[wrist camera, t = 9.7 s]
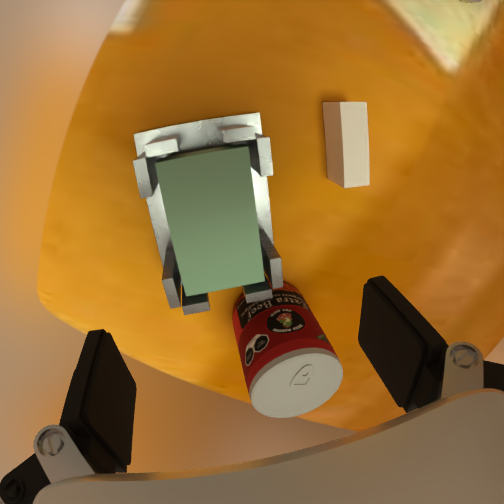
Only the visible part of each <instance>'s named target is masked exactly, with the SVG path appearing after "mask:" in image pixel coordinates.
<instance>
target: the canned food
mask: <svg viewBox="0 0 504 504" xmlns="http://www.w3.org/2000/svg"><path fill="white" fill-rule="evenodd" d="M268 282H269V281H268ZM269 285H270V287H271V289H272V298H270V299H265V300H261V301H256V302H251V303H247V302H246V299H245V296H244V294H243V295H242V296H241V297H240V298H239V300H238V302H237V304H236V306H235V309H234V313H233V326H234V331H235V336H236V340H237V345H238V349H239V354H240V358H241V363H242V367H243V372H244V376H245V381H246V385H247V388H248V392H249V396H250V399H251V401H252V404H253V406H254V408H255V409H256V410H257V411H258V412H260V413H262V414H263V415H266V416H269V417H275V418H287V417H294V416H298V415H301V414H304V413H307V412H309V411H311V410H313V409H315V408H317V407H319V406H320V405H322V404H323V403H325V402H326V401H327V400H328V399H329V398H330V397H331V396H332V395H333V394H334V393H335V392H336V390H337V389H338V387H339V386H340V383H341V381H342V377H343V369H342V366H341V363H340V361H339V358H338V357H337V355H336V353H335V351H334V349H333V347H332V346H331V344H330V342H329V341H328V339H327V337H326V335H325V334H324V332H323V330H322V329H321V327H320V325H319V323H318V322H317V320H316V318H315V317H314V315H313V313H312V311H311V310H310V308H309V306H308V305H307V303H306V301H305V300H304V298H303V296H302V295H301V294H300V292H299V291H298V290H297V289H295V288H294V287H293V286H291V285H289V284H287V283H285V282H283V287H280V288H276V289H273V288H272V286H271V284H270V282H269Z"/></svg>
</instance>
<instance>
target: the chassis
mask: <svg viewBox="0 0 504 504" xmlns="http://www.w3.org/2000/svg"><path fill="white" fill-rule="evenodd" d="M134 140H135V145H136V151H137V156H138V157H137V158H136V159H134V160H133V164H134V169H135V174H136V179H137V184H138V188H139V193H140V197H141V199H142V198H146V199H147V204H148V208H149V213H150V217H151V221H152V225H153V229H154V233H155V237H156V241H157V245H158V249H159V253H160V257H161V261H162V264H163V275H162V282H163V286H164V289H165V293H166V296H167V299H168V302H169V306H170V308H176V307H181V286H182V308H183V312H184V315H187V314H193V313H198V312H204V311H209V310H210V304H209V296H208V292H207V293H202V294H197V295H191V296H186V294H185V290H184V286H183V283H182V279H181V275H180V271H179V267H178V264H177V260H176V256H175V252H174V248H173V243H172V239H171V235H170V231H169V227H168V222H167V218H166V213H165V209H164V204H163V200H162V195H161V191H160V186H159V181H158V176H157V171H156V166H155V163H156V161H157V160H158V159H160V158H164V157H169V156H174V155H179V154H184V153H189V152H195V151H200V150H206V149H212V148H218V147H224V146H230V145H237V144H245V145H247V146H248V148H249V156H250V164H251V171H252V179H253V187H254V195H255V204H256V212H257V220H258V228H259V236H260V245H261V253H262V261H263V270H264V271H265V273H266V275H267V277H268V279H269V282H270V284H271V286H272V288H273V289H276V288H280V287H283V277H282V265H281V257H280V255H279V254H278V252H277V250H276V249H275V247H274V244H273V233H272V223H271V213H270V203H269V193H268V183H267V176H271V175H273V166H272V156H271V146H270V137H267V136H264V135H262V128H261V120H260V113H250V114H242V115H234V116H227V117H220V118H213V119H207V120H200V121H195V122H189V123H183V124H178V125H173V126H168V127H163V128H158V129H153V130H149V131H144V132H140V133H136V134H134ZM265 273H264V278H265V281H263V282H258V283H253V284H248V285H243V286H242V289H243V293H244V296H245V299H246V302H247V303H251V302H256V301H261V300H265V299H270V298H272V289H271V287H270V285H269V282H268V280H267V278H266V276H265Z"/></svg>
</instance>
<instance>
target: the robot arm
mask: <svg viewBox="0 0 504 504" xmlns="http://www.w3.org/2000/svg"><path fill="white" fill-rule="evenodd" d="M461 1H463V2H467V3H475V2H480V1H481V0H461ZM358 341H359V344H360V346H361V348H362V349H363V351H364V353H365V354H366V356H367V357H368V359H369V360H370V362H371V364H372V365H373V367H374V368H375V370H376V371H377V373H378V375H379V376H380V378H381V379H382V381H383V383H384V384H385V386H386V387H387V389H388V391H389V392H390V394H391V396H392V397H393V399H394V400H395V402H396V404H397V405H398V406H399V407H403V408H404V410H405V412H406V413H407V414H405V415H402V416H400V417H397V418H395V419H392V420H390V421H387V422H385V423H382V424H380V425H377V426H374V427H372V428H369V429H366V430H363V431H361V432H358V433H355V434H352V435H349V436H346V437H343V438H340V439H337V440H333V441H330V442H327V443H324V444H320V445H317V446H313V447H310V448H306V449H302V450H298V451H295V452H290V453H286V454H282V455H278V456H273V457H269V458H264V459H259V460H253V461H248V462H243V463H237V464H231V465H224V466H217V467H210V468H201V469H192V470H181V471H168V472H151V473H126V472H127V465H130V463H131V451H132V435H133V422H134V410H135V399H136V383H135V381H134V379H133V377H132V375H131V373H130V372H129V370H128V368H127V366H126V364H125V362H124V360H123V358H122V356H121V354H120V352H119V350H118V348H117V346H116V344H115V342H114V340H113V338H112V335H111V334H110V333H106V331H105V330H104V329H100V330H93V331H89V332H88V334H87V337H86V340H85V343H84V346H83V349H82V352H81V355H80V358H79V361H78V364H77V367H76V369H75V371H74V373H73V376H72V380H71V383H70V387H69V390H68V393H67V397H66V401H65V404H64V408H63V412H62V416H61V419H60V423H59V425H48V426H46V427H44V428H43V429H41V430H40V431H39V432H38V434H37V435H36V437H35V440H34V451H35V453H34V454H33V455H32V456H30V457H29V458H28V459H27V460H25V461H24V462H23V463H22V464H20V465H19V466H17V467H16V468H15V469H13V470H12V471H11V472H9V473H8V474H7V475H6V476H5V477H4V478H3V479H2V480H1V483H0V504H504V365H503V364H498V363H494V362H489V361H484V360H483V356H482V353H481V352H480V350H479V349H478V348H477V347H476V346H474V345H473V344H471V343H468V342H455V343H453V344H451V345H450V346H448V344H447V343H446V341H445V340H444V339H443V338H442V337H441V335H440V334H439V333H438V332H437V331H436V330H435V329H434V328H433V327H432V326H431V324H430V323H429V322H428V321H427V320H426V319H425V318H424V317H423V316H422V315H421V314H420V313H419V312H418V310H417V309H416V308H415V307H414V306H413V305H412V304H411V303H410V302H409V301H408V300H407V299H406V298H405V297H404V296H403V295H402V294H401V293H400V292H399V291H398V290H397V289H396V288H395V287H394V286H393V285H392V284H391V283H390V282H389V281H388V280H387V279H386V278H385V277H384V276H378V277H374V278H370V279H368V281H367V283H366V284H364V288H363V299H362V309H361V318H360V326H359V334H358ZM417 408H418V409H417ZM415 409H416V410H415ZM413 410H414V411H413ZM410 411H412V412H410ZM408 412H409V413H408ZM116 472H118V473H116Z"/></svg>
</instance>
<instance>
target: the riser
mask: <svg viewBox="0 0 504 504" xmlns="http://www.w3.org/2000/svg"><path fill="white" fill-rule="evenodd" d="M322 105H323V117H324V129H325V143H326V159H327V178H328V179H329V180H331V181H333V182H334V183H336V184H338V185H340V186H342V187H343V188H349V187H357V186H365V185H369V138H368V118H367V103H366V102H322Z"/></svg>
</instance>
